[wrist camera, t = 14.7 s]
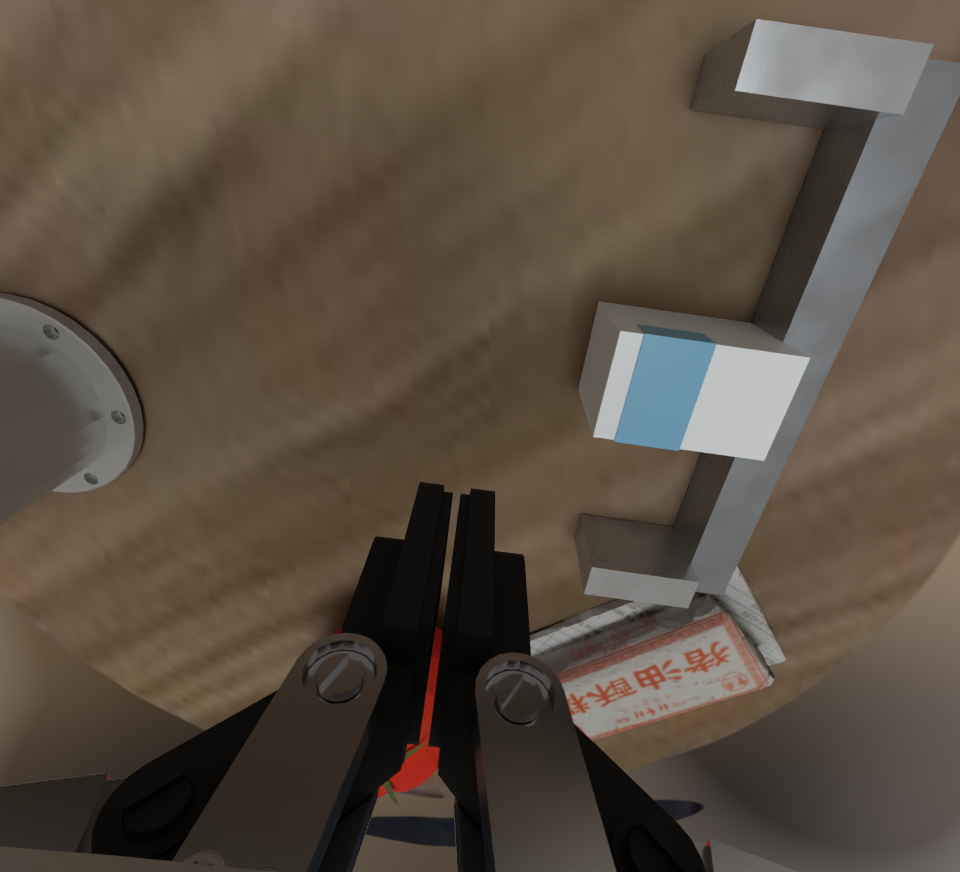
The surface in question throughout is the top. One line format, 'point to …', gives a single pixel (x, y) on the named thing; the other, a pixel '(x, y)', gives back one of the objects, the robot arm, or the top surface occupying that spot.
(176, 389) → the top surface
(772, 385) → the block
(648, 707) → the packaged product
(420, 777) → the tomato
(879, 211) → the rail
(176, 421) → the top surface
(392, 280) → the top surface
